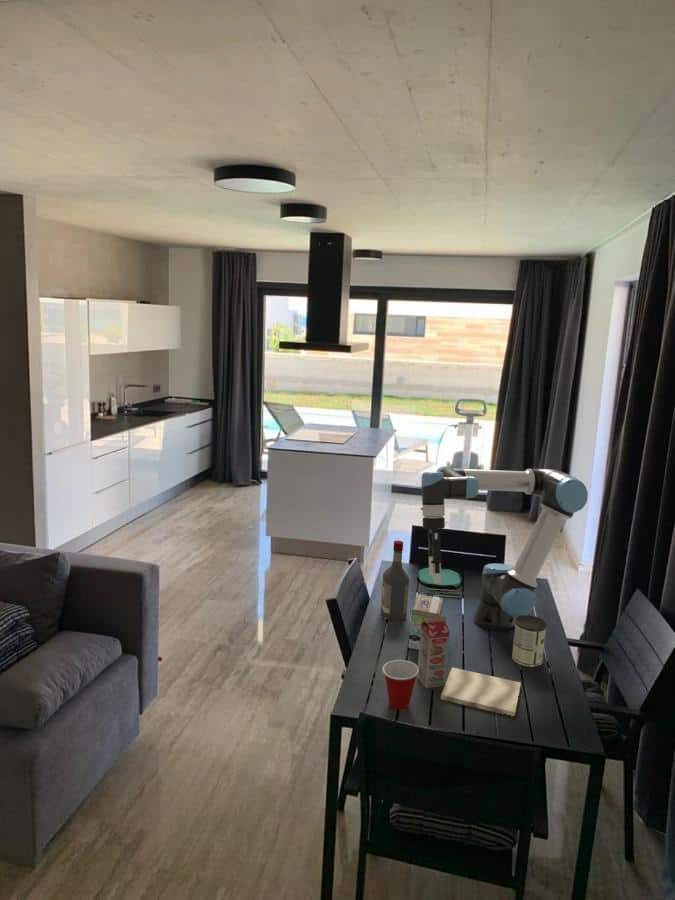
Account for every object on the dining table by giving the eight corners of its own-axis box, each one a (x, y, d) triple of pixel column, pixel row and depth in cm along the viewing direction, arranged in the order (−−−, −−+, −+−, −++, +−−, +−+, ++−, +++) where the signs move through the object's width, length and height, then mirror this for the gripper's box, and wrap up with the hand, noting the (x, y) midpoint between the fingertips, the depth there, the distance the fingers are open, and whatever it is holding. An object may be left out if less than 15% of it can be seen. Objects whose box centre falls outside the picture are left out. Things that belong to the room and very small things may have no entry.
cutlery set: (459, 573, 308) (459, 569, 308) (466, 601, 279) (466, 596, 279) (416, 570, 310) (416, 566, 309) (418, 597, 281) (418, 592, 280)
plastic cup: (377, 694, 205) (380, 658, 202) (412, 694, 206) (415, 658, 203) (382, 715, 194) (385, 677, 192) (419, 715, 195) (422, 677, 193)
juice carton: (417, 677, 216) (422, 613, 212) (436, 674, 218) (441, 611, 214) (425, 687, 210) (430, 622, 206) (444, 685, 212) (450, 620, 208)
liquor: (402, 610, 265) (407, 538, 260) (407, 620, 257) (413, 546, 251) (379, 610, 264) (384, 538, 258) (384, 621, 255) (389, 546, 249)
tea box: (436, 653, 232) (440, 613, 230) (407, 648, 235) (410, 609, 232) (440, 634, 247) (443, 596, 244) (413, 630, 249) (416, 592, 246)
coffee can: (512, 649, 238) (516, 612, 235) (542, 655, 234) (547, 618, 232) (510, 663, 228) (514, 624, 225) (541, 669, 225) (546, 630, 222)
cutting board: (440, 699, 204) (441, 694, 204) (451, 671, 221) (452, 667, 220) (514, 716, 197) (515, 712, 196) (520, 686, 213) (520, 682, 213)
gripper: (419, 513, 242) (421, 572, 242) (425, 521, 217) (427, 586, 217) (440, 513, 242) (442, 571, 242) (449, 520, 217) (450, 586, 217)
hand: (435, 578), depth 229 cm, fingers open, 13 cm apart
